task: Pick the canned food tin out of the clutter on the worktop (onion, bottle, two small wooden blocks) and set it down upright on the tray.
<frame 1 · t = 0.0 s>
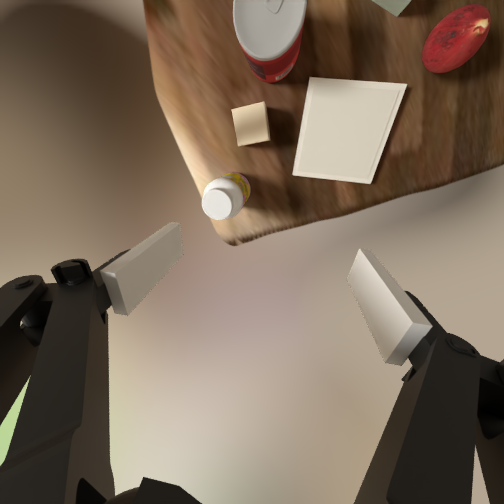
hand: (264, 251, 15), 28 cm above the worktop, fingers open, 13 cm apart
canned food: (273, 51, 30), on the worktop
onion: (432, 54, 28), on the worktop
beech block: (254, 127, 35), on the worktop
tray: (341, 135, 34), on the worktop
supplement bottle: (235, 188, 41), on the worktop
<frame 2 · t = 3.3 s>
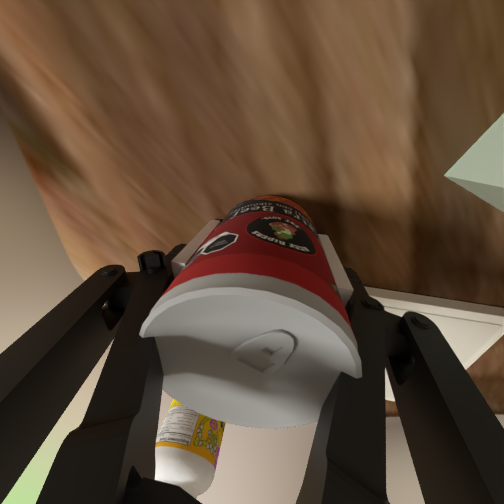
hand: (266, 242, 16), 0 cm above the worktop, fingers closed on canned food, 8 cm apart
canned food: (266, 239, 17), on the worktop, touching gripper
tray: (380, 346, 20), on the worktop
supplement bottle: (211, 371, 27), on the worktop
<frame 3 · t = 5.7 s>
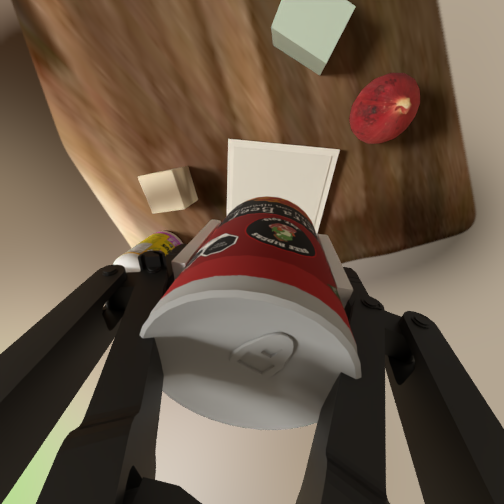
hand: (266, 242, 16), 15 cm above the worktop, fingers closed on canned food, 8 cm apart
canned food: (266, 240, 17), point 15 cm above the worktop, touching gripper
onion: (367, 115, 23), on the worktop
beech block: (178, 185, 31), on the worktop
tray: (275, 197, 29), on the worktop
sage block: (307, 38, 21), on the worktop
supplement bottle: (169, 245, 36), on the worktop
when the fingers open (3 cm above the worktop, at t = 8.3 s): canned food drops 1 cm, resting on tray.
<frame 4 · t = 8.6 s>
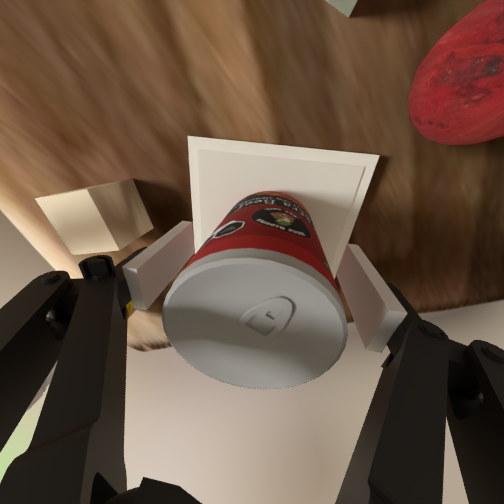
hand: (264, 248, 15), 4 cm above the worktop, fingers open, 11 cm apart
canned food: (267, 232, 18), point 1 cm above the worktop, touching tray
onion: (432, 95, 13), on the worktop
beech block: (123, 207, 20), on the worktop
tray: (268, 228, 19), on the worktop
supplement bottle: (121, 286, 26), on the worktop
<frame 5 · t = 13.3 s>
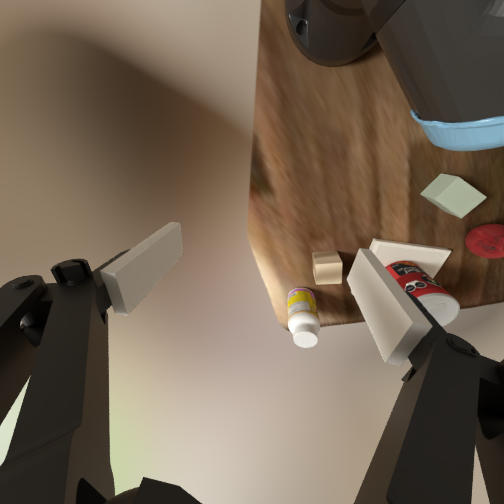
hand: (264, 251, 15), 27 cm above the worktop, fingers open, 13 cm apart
canned food: (397, 274, 42), point 1 cm above the worktop, touching tray
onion: (471, 232, 37), on the worktop
beech block: (324, 261, 44), on the worktop
tray: (394, 271, 43), on the worktop
sage block: (442, 192, 35), on the worktop
supplement bottle: (300, 295, 50), on the worktop
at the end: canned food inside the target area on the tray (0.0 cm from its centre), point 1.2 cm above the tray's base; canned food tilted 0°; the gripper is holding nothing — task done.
